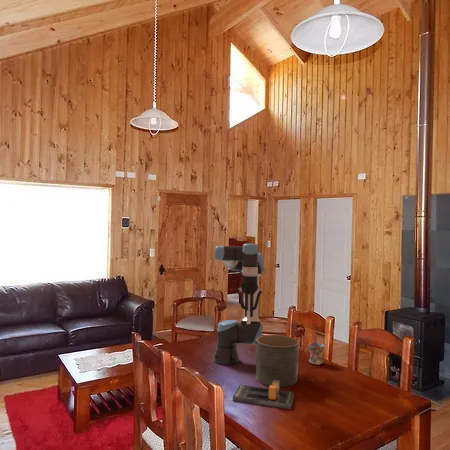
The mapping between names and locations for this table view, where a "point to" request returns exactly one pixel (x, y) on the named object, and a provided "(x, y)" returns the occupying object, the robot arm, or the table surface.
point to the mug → (315, 353)
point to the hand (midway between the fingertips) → (248, 323)
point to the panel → (264, 396)
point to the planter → (277, 359)
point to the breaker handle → (272, 392)
